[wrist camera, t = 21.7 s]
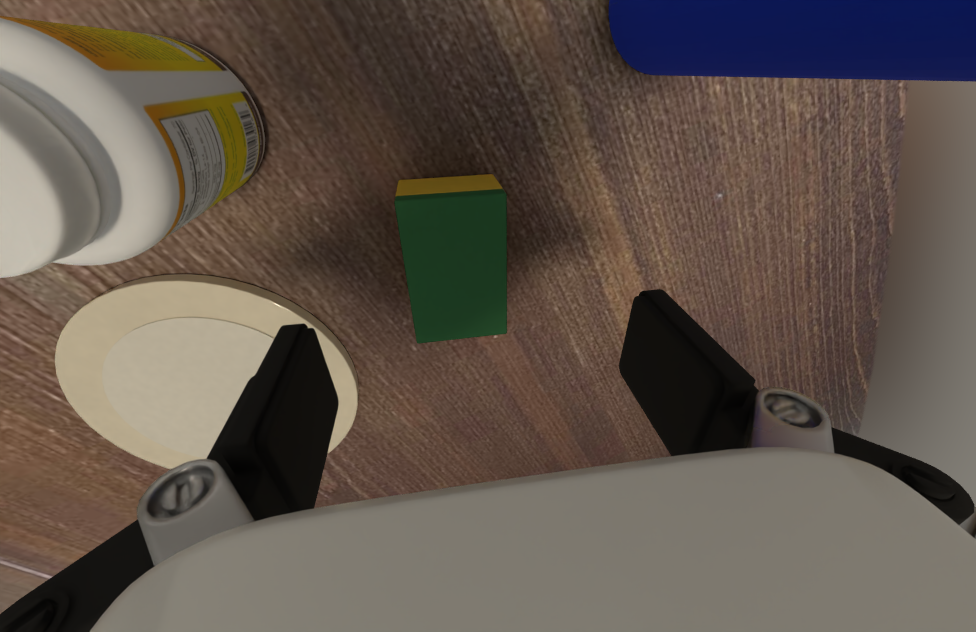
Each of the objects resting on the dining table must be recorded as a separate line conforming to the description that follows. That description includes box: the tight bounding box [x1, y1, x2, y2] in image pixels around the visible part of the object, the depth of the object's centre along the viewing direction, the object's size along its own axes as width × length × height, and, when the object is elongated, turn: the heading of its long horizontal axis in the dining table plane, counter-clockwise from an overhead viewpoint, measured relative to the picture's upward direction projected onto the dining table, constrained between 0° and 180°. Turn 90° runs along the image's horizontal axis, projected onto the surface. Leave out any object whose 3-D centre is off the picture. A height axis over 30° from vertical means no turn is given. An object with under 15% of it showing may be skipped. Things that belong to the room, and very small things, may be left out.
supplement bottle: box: [0, 16, 265, 278], centre depth 11 cm, size 6×6×10 cm
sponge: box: [394, 174, 507, 343], centre depth 19 cm, size 7×4×4 cm, turn 2°
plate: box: [55, 274, 359, 469], centre depth 22 cm, size 15×15×1 cm
